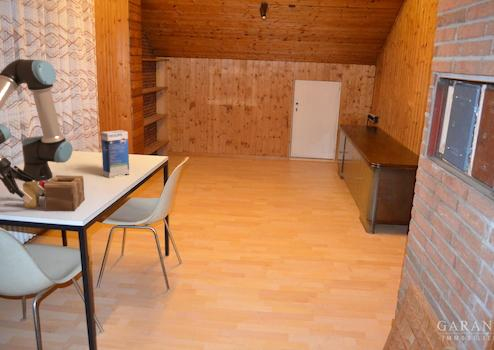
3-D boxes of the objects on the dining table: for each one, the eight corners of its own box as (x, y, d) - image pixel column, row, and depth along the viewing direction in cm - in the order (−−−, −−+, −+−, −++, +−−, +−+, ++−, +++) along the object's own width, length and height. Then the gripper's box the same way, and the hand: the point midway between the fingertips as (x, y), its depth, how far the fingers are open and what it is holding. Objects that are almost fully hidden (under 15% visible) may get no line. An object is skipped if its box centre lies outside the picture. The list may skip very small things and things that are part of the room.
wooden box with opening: (58, 199, 200) (56, 175, 197) (84, 200, 201) (83, 175, 198) (45, 211, 185) (43, 184, 182) (74, 211, 186) (72, 185, 183)
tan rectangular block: (28, 205, 191) (26, 181, 188) (39, 205, 192) (37, 181, 189) (24, 207, 188) (22, 183, 185) (36, 207, 188) (34, 184, 186)
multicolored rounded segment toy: (39, 191, 211) (38, 177, 210) (59, 192, 212) (58, 178, 210) (32, 196, 203) (30, 182, 201) (52, 197, 204) (51, 182, 202)
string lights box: (123, 172, 254) (121, 129, 248) (130, 174, 249) (128, 131, 243) (102, 175, 245) (100, 131, 238) (109, 178, 240) (107, 133, 233)
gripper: (5, 162, 196) (41, 193, 201) (-24, 176, 172) (18, 211, 177) (16, 151, 195) (52, 183, 200) (-12, 163, 171) (30, 199, 176)
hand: (36, 196), depth 189 cm, fingers open, 13 cm apart
